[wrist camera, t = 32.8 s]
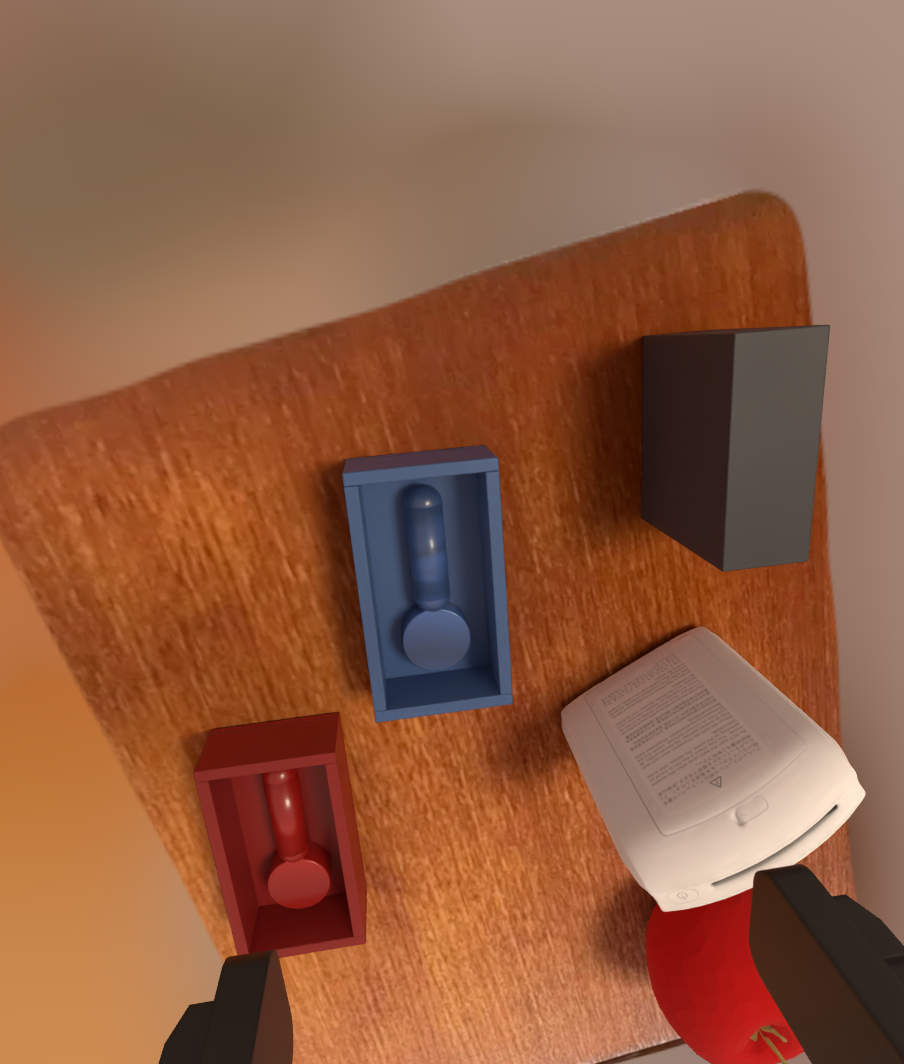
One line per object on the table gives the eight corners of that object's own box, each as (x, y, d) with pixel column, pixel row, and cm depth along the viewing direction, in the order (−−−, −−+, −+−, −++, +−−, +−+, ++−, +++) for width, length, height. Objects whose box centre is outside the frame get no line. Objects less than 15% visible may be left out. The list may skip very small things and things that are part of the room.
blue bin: (345, 458, 30) (341, 473, 26) (484, 444, 30) (498, 457, 27) (375, 685, 33) (375, 723, 30) (499, 669, 34) (513, 704, 30)
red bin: (211, 729, 33) (192, 772, 29) (339, 711, 33) (335, 752, 30) (251, 908, 36) (239, 965, 33) (366, 890, 37) (365, 944, 34)
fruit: (629, 971, 41) (705, 1158, 32) (620, 865, 39) (700, 1034, 29) (762, 941, 42) (874, 1116, 32) (762, 834, 39) (885, 990, 30)
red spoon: (246, 752, 33) (239, 774, 31) (311, 742, 33) (308, 764, 31) (276, 892, 36) (271, 920, 34) (336, 883, 36) (334, 910, 34)
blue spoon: (384, 483, 30) (384, 492, 28) (455, 476, 30) (460, 484, 28) (404, 662, 32) (406, 679, 31) (469, 654, 33) (474, 670, 31)
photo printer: (581, 762, 36) (680, 963, 24) (544, 710, 35) (630, 896, 23) (734, 667, 35) (912, 828, 24) (703, 610, 34) (875, 751, 22)
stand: (642, 336, 30) (734, 333, 22) (715, 329, 30) (830, 324, 22) (641, 518, 32) (722, 572, 25) (707, 510, 32) (808, 561, 25)
